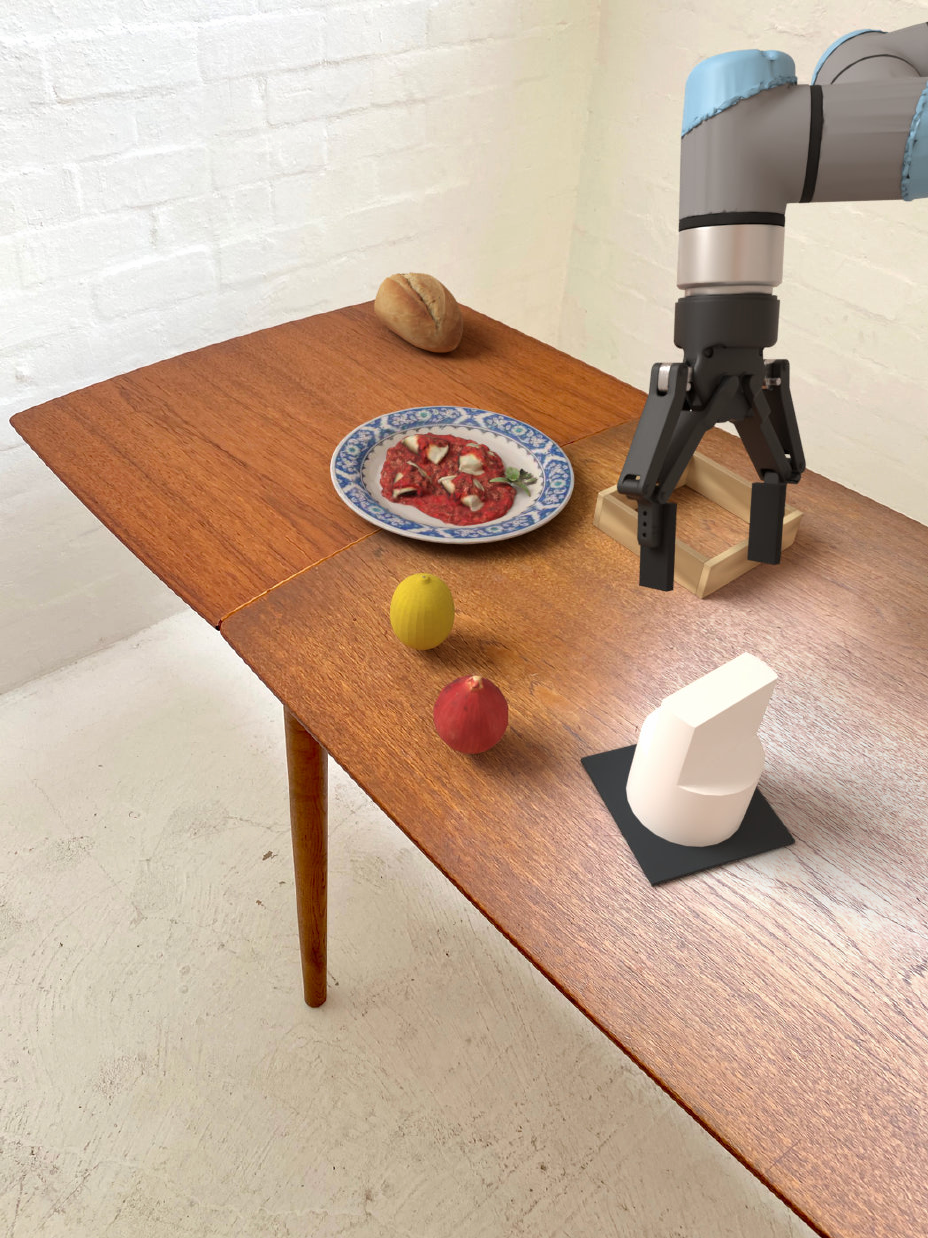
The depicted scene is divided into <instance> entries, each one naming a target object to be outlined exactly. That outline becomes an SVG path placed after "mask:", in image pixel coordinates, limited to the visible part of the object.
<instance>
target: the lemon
mask: <svg viewBox="0 0 928 1238" xmlns="http://www.w3.org/2000/svg"><path fill="white" fill-rule="evenodd" d="M452 593H453V592H452V591H451V590H450V587H449V586H448V585H447V583H446V582H445V581H444V580H443V579H442V578H440V577H438V576H437V575H434V574H432V573H428V572H418V573H414V574H411V575H408V576H407V577H405V578H404V579H402V581H400V583H399V584H398V585H397V586H396V588H395V590H394V592H393V595H392V597H391V601H390V607H389V620H390V624H391V628H392V631H393V633H394V635H395V637H396V638H397V639H398V640H399V641H400V642H401V643H402V644H403V645H405V647H408V648H410V649H414V650H418V651H427V650H431V649H434V648H437V647H438V646H440V645H441V644H442V643H443V642H444V641H446V640H447V638H448V637H449V635H450V633H451V631H452V629H453V627H454V622H455V615H456V607H455V602H454V597H453V594H452Z"/></svg>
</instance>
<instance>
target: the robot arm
mask: <svg viewBox="0 0 928 1238" xmlns="http://www.w3.org/2000/svg"><path fill="white" fill-rule="evenodd" d="M681 123H682V124H681V133H680V158H679V159H680V161H679V196H678V197H679V199H678V200H679V201H678V246H677V265H676V267H677V268H676V269H677V270H676V287H677V289H679V290H682V291H684V293H683V294H684V295H683V297H679V298H677V302H676V301H675V302H674V321H673V344H674V347H676V348H677V349H678V350H679V349H680V350H682V351H683V359H682V362H654V363H653V364H652V366H651V370H650V377H649V387H648V395H647V398H646V400H645V403H644V406H643V409H642V412H641V415H640V418H639V420H638V423H637V426H636V429H635V432H634V436H633V438H632V441H631V442H630V446H629V449H628V452H627V455H626V457H625V460H624V462H623V466H622V468H621V472H620V475H619V477H618V480H617V483H616V484H617V491H618V493H619V494H623V495H626V497H627V498H628V499H629V500H636V501H637V503H638V508H637V512H638V526H637V530H638V532H637V540H638V544H639V545H640V557H639V572H638V573H639V576H638V586H639V587H644V588H648V589H652V590H657V591H662V592H665V593H668V592H672V591H674V585H675V581H674V564H675V540H676V538H677V516H678V515H677V514H678V503H676V502H669V500H670V498H671V496H672V494H673V492H674V491H675V490H676V489H675V487H676V485H677V483H678V481H679V480H680V478H681V476H682V474H683V472H684V470H685V469H686V467H687V465H688V463H689V461H690V459H691V458H692V456H693V454H694V452H695V451H697V448H698V446H699V445H700V443H701V441H702V439H703V438H704V436H705V434H706V433H707V431H709V430H712V429H713V428H714V427H715V426H716V424H724V423H727V422H729V423H731V424H732V425H733V426H734V428H735V430H736V432H737V434H738V436H739V439H740V441H741V442H742V444H743V446H744V449H745V451H746V453H747V455H748V457H749V459H750V461H751V463H752V465H753V467H754V469H755V472H756V474H757V476H758V478H759V480H760V481H761V482H760V481H756V482H751V483H752V492H751V508H750V524H749V523H748V524H749V525H748V538H749V540H748V556H747V560H750V561H755V562H761V564H768V565H771V566H772V565H773V566H776V565H780V564H781V558H782V551H781V547H782V532H783V519H784V515H785V503H787V502H786V501H787V489H788V484H789V485H798V484H800V482H801V479H802V474H803V473H804V472H805V471H806V467H807V461H806V458H805V452H804V447H803V444H802V438H801V434H800V430H799V429H800V428H799V424H798V420H797V415H796V411H795V410H796V409H795V407H794V406H795V405H794V401H793V397H792V392H791V385H790V383H791V382H790V381H791V377H790V376H791V373H790V372H791V365H790V364H791V363H790V361H789V359H788V358H764V350H765V348H772V347H774V346H775V345H776V344H777V343H778V338H779V325H780V310H781V309H780V308H781V299H778V297H779V296H778V295H777V294H773V291H774V288H777V287H779V286H780V285H781V284H782V283H783V274H784V273H783V272H784V255H785V233H786V228H785V227H786V210H787V206H788V205H789V204H810V203H811V204H813V203H841V202H843V203H844V202H845V203H846V202H874V201H875V202H878V201H903V202H913V201H914V200H920V199H921V200H922V199H928V21H926V22H921V23H917V24H912V25H910V26H905V27H901V28H899V29H895V30H893V31H883V30H881V29H872V28H862V29H856V30H853V31H850V32H848V33H846V34H843V35H842V36H840V37H839V38H838V39H836V40H835V41H834V42H832V43H831V45H830V46H828V48H826V50H825V51H824V52H823V53H822V54H821V56H820V58H819V59H818V61H817V63H816V65H815V67H814V70H813V72H812V77H811V81H810V84H809V83H808V84H807V83H800V84H799V83H798V76H797V75H796V63H795V60H794V59H793V57H792V56H791V55H790V54H788V53H786V52H784V51H782V50H776V49H768V50H760V49H758V48H751V49H748V48H747V49H738V50H733V51H732V50H731V51H726V52H721V53H719V54H715V55H713V56H710V57H707V58H705V59H703V60H702V61H700V62H699V63H697V64H696V65H695V66H694V67H693V68H692V70H691V71H690V73H689V74H688V76H687V78H686V82H685V88H684V100H683V110H682V122H681ZM787 455H788V456H789V457H787ZM637 476H640V479H639V480H638V479H636V477H637ZM656 484H658V486H657V485H656ZM674 489H675V490H674Z"/></svg>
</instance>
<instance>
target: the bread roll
mask: <svg viewBox="0 0 928 1238" xmlns="http://www.w3.org/2000/svg"><path fill="white" fill-rule="evenodd" d="M373 311H374V313H375V316H376V317H377V320H378V321H379V322H380V323H381V324H382V325H383V326H384V327H386V328H387V329H388V330H390V331H391V332H393V333H394V334H396V335H397V336H399V337H400V338H402V339H403V340H404V341H406V342H407V343H409V344H411V345H413V346H414V347H417V348H420V349H422V350H425V351H429V352H433V353H447V352H452V351H454V350H456V349H457V348H458V346H459V344H460V341H461V339H462V337H463V332H464V318H463V314H462V311H461V308H460V306H459V303H458V301H457V299H456V297H455V295H453V293H452V292H451V291H450V290H449V289H448V288H447V287H446V286H445V285H444V284H443V283H442V282H441V281H440V280H438V279H437V278H435V277H434V276H433V275H431V274H429V273H421V272H408V273H407V272H406V273H395V274H391V275H390V276H387V277H385V279H384V280H383V281H382V282H381V284H380V285H379V287H378V289H377V292H376V296H375V299H374V303H373Z"/></svg>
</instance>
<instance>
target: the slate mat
mask: <svg viewBox="0 0 928 1238" xmlns="http://www.w3.org/2000/svg"><path fill="white" fill-rule="evenodd" d="M636 747H637V743H635V744H631V745H626V746H622V747H618V748H615V749H611V750H607V751H602V752H598V753H594V754H591V755H587V756H583V757H580V763H581V765H582V766H583V768H584V770H585V771H586V773H587V775H588V777H589V779H590V780H591V782H592V784H593V785H594V787H595V790H596V791H597V792H598V794H599V796H600V797H601V800H602V802H603V803H604V805H605V807H606V808H607V810H608V812H609V814H610V816H611V817H612V819H613V821H614V823H615V825H616V826H617V828H618V829H619V832H620V833H621V835H622V836H623V839H624V840H625V842H626V844H627V846H628V847H629V849H630V851H631V852H632V854H633V856H634V858H635V859H636V861H637V863H638V865H639V867H640V868H641V870H642V872H643V874H644V876H645V877H646V879H647V881H648V882H649V884H650V886H651V887H655V886H659V885H661V884H665V883H668V882H672V881H675V880H678V879H681V878H684V877H688V876H691V875H695V874H699V873H701V872H704V871H709V870H711V869H714V868H718V867H721V866H724V865H728V864H732V863H734V862H737V861H741V860H744V859H748V858H751V857H754V856H757V855H762V854H764V853H767V852H771V851H775V850H778V849H781V848H784V847H787V846H790V845H794V844H795V843H796V839H795V838H794V836H793V835H792V834H791V832H790V831H789V829H788V827H786V826H785V823H784V822H783V821H782V820H781V818H780V817H779V816H778V814H777V813H776V811H775V810H774V808H773V807H772V806H771V804H770V803H769V801H768V800H767V799H766V798H765V796H764V795H763V793H762V792H761V790H760V789H759V787H758V786H756V788H755V791H754V793H753V796H752V798H751V801H750V803H749V806H748V808H747V810H746V813H745V815H744V818H743V820H742V822H741V824H740V826H739V828H738V830H737V831H736V832H735V833H734V834H733V835H732V836H731V837H730V838H728V839H726V840H724V841H722V842H720V843H718V844H714V845H709V846H704V847H697V846H684V845H681V844H677V843H673V842H670V841H668V840H666V839H664V838H662V837H660V836H658V835H656V834H654V833H653V832H652V831H650V830H649V829H648V828H647V827H645V826H644V825H643V824H642V823H641V822H640V820H639V819H638V818H637V817H636V816H635V814H634V813H633V811H632V809H631V807H630V804H629V802H628V799H627V791H626V786H627V781H628V777H629V773H630V769H631V765H632V762H633V758H634V754H635V750H636Z"/></svg>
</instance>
